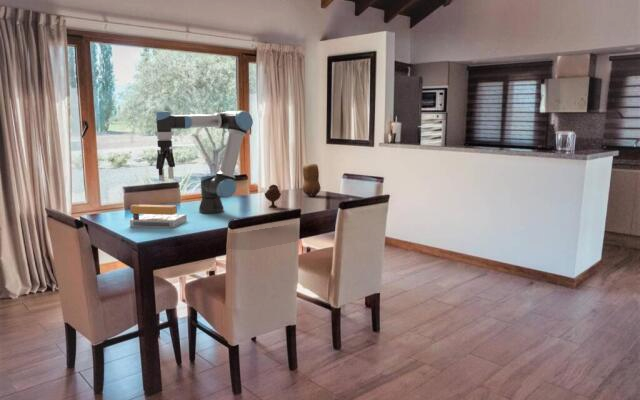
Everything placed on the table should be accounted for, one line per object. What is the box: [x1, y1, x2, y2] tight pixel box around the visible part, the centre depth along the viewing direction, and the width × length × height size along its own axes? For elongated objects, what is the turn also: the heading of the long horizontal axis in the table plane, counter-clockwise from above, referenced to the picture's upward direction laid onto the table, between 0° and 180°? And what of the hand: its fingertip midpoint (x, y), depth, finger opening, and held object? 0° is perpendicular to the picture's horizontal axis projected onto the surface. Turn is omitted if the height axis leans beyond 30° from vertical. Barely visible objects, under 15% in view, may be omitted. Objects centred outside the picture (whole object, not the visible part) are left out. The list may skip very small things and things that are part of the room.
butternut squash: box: [302, 163, 322, 197], centre depth 366 cm, size 14×13×25 cm
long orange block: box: [130, 203, 178, 215], centre depth 259 cm, size 6×24×4 cm, turn 83°
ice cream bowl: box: [264, 184, 282, 209], centre depth 318 cm, size 11×11×15 cm
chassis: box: [129, 213, 188, 229], centre depth 266 cm, size 18×24×7 cm
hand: (166, 179), depth 267 cm, fingers open, 11 cm apart
